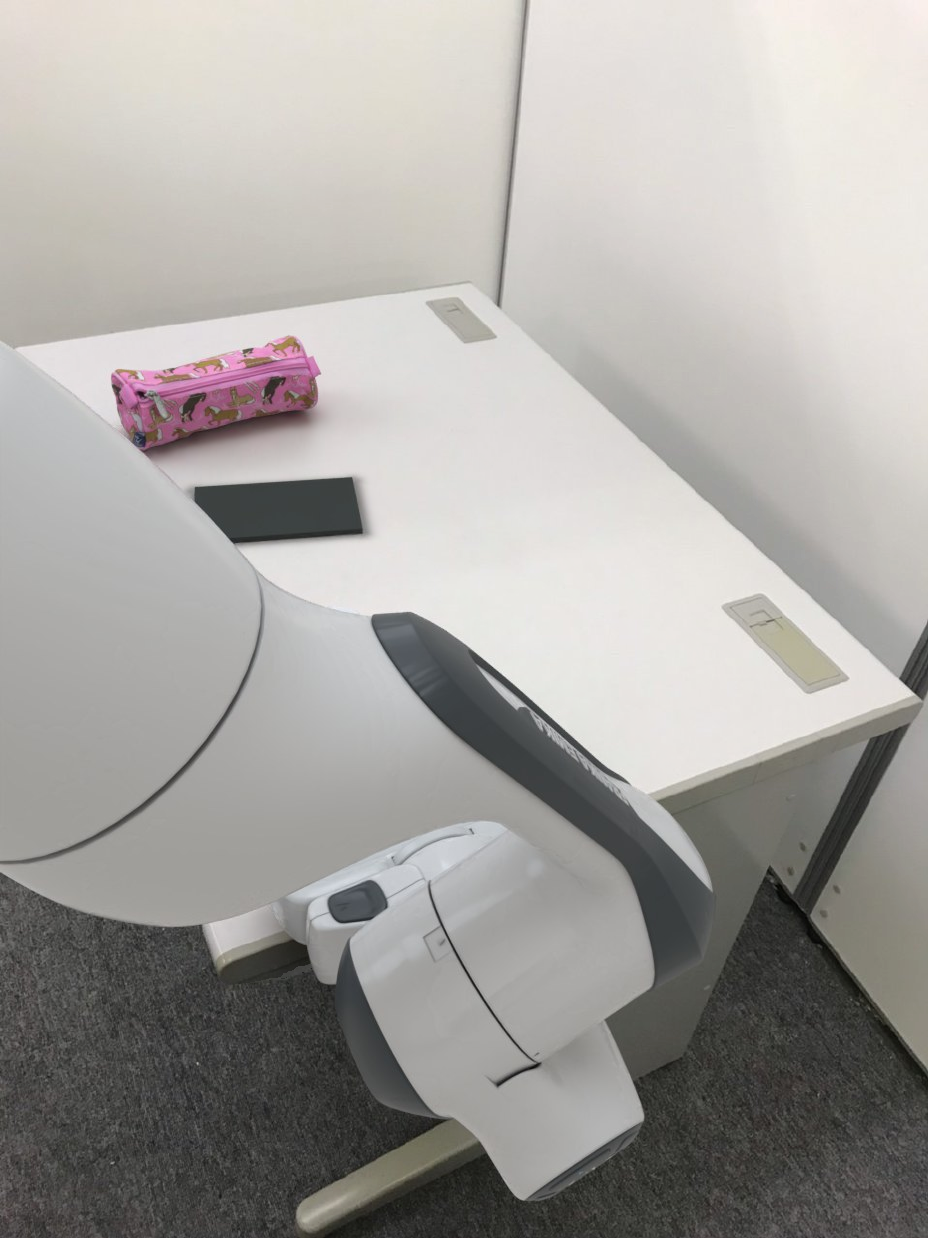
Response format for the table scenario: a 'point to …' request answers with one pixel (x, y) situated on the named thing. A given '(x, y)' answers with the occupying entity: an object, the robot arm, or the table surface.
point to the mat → (282, 509)
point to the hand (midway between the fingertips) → (369, 739)
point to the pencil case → (215, 391)
